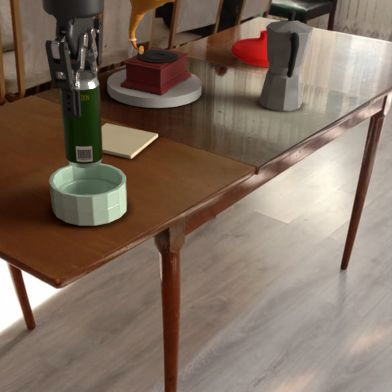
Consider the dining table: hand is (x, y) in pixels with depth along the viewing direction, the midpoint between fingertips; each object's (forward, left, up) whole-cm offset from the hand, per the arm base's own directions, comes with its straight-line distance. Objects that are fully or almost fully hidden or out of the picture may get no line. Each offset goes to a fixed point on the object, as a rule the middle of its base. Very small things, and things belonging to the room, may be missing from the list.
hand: (80, 109), depth 86 cm
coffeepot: (+58, +7, -15) cm, 61 cm away
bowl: (0, 0, -15) cm, 15 cm away
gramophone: (+44, +31, -15) cm, 56 cm away
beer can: (0, 0, -8) cm, 8 cm away
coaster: (+20, +16, -15) cm, 30 cm away
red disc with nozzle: (+78, +28, -15) cm, 85 cm away
